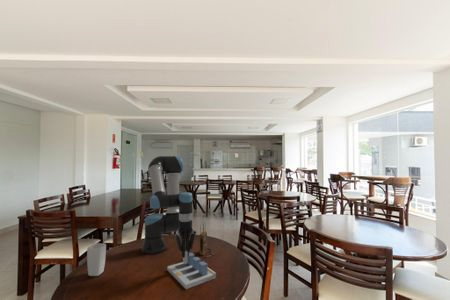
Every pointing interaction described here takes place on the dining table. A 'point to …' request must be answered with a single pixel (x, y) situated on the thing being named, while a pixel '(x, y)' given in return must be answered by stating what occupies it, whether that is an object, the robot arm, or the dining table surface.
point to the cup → (96, 259)
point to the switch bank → (189, 275)
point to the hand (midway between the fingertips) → (185, 262)
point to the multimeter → (203, 242)
